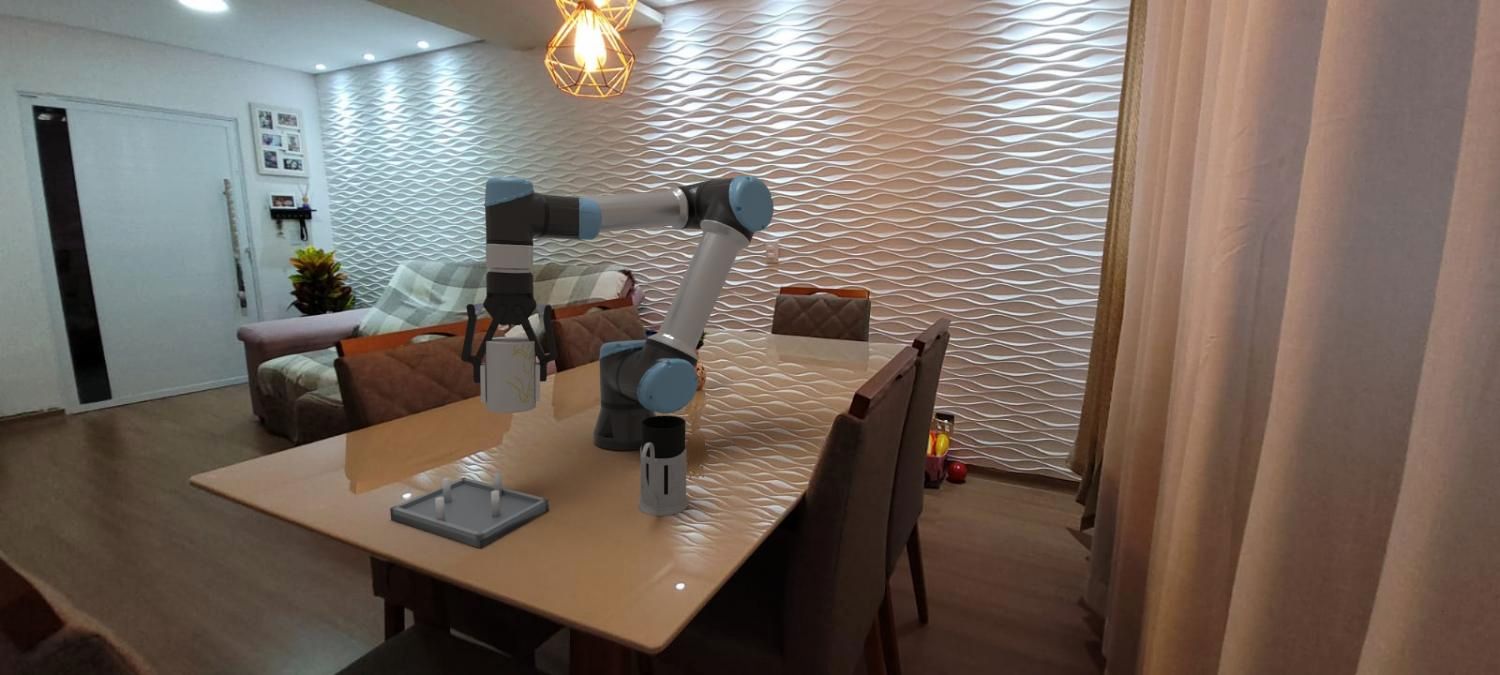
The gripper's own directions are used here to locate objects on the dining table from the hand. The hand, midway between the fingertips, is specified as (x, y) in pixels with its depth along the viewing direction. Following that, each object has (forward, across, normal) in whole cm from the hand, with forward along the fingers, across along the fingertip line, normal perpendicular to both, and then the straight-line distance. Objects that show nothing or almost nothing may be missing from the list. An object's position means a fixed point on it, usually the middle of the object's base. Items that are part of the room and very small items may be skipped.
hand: (511, 399), depth 104 cm
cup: (+1, 0, 0) cm, 1 cm away
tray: (+17, +6, +8) cm, 20 cm away
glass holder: (+17, -24, +15) cm, 33 cm away
